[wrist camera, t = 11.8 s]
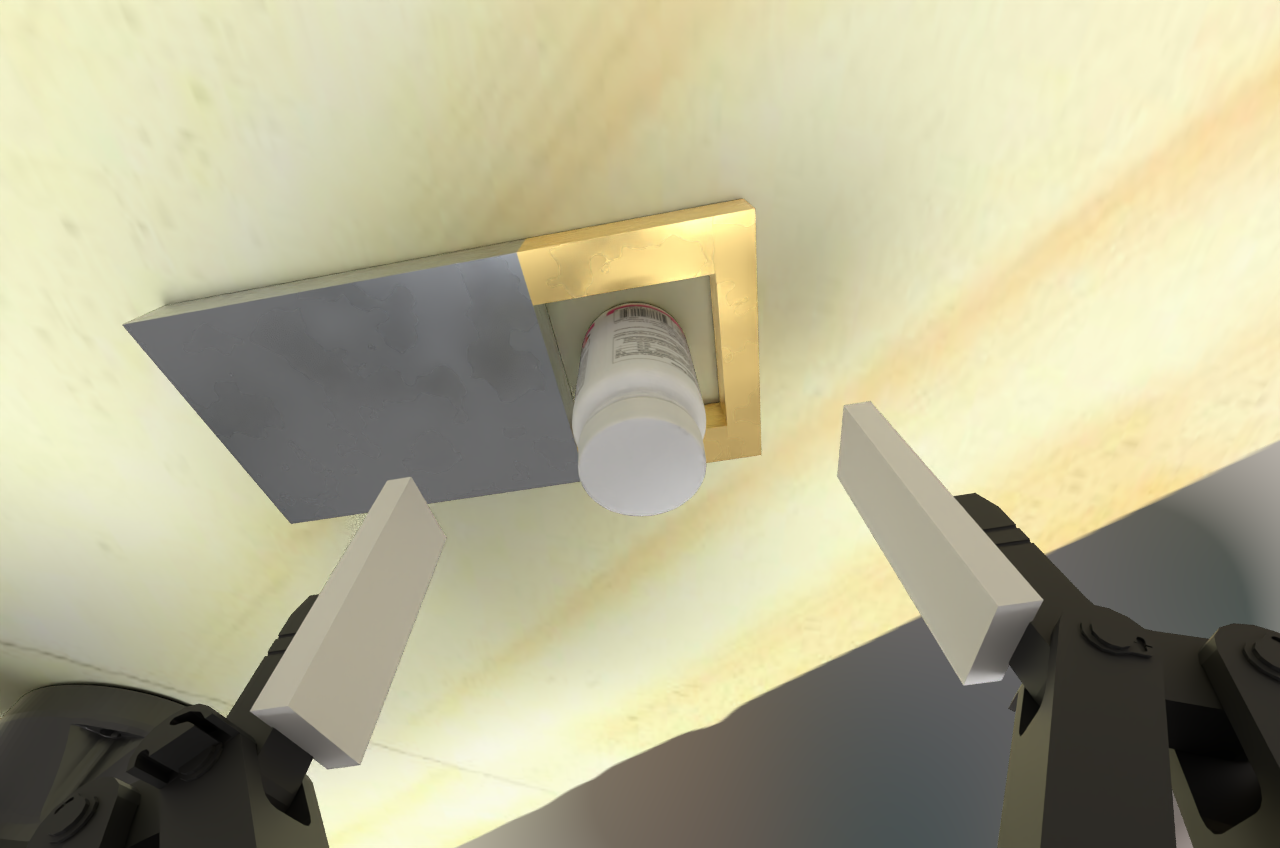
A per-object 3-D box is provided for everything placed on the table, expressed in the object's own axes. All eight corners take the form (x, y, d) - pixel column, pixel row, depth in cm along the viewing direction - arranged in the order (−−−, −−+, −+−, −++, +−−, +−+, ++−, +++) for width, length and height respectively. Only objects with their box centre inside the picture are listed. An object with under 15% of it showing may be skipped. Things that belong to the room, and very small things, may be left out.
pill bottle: (630, 412, 23) (633, 546, 16) (560, 347, 21) (530, 468, 14) (708, 354, 22) (749, 476, 15) (640, 276, 19) (650, 376, 13)
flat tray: (312, 496, 26) (290, 523, 24) (164, 305, 20) (122, 324, 18) (751, 430, 24) (761, 454, 22) (743, 198, 18) (755, 208, 16)
